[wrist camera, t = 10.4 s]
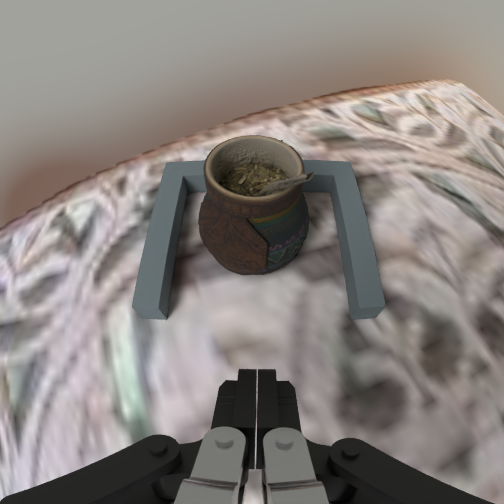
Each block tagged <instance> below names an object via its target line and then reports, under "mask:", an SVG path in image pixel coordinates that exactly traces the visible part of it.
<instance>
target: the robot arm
mask: <svg viewBox="0 0 504 504" xmlns="http://www.w3.org/2000/svg"><path fill="white" fill-rule="evenodd" d="M256 381H257V369H239V372H238V381H233V380H226V381H225V382H224V383H223V384H222V385H221V386H220V387H219V391H218V397H217V401H216V406H215V411H214V416H213V421H212V426H211V430H210V431H208V432H207V433H206V434H205V435H204V438H203V439H202V440H199V441H197V442H193V443H186V444H178V442H177V441H176V440H175V439H173V438H172V437H170V436H166V435H152V436H149V437H146V438H144V439H142V440H141V441H139V442H137V443H135V444H133V445H131V446H129V447H127V448H125V449H123V450H121V451H118V452H116V453H114V454H112V455H110V456H108V457H106V458H104V459H101V460H99V461H97V462H95V463H93V464H90V465H88V466H86V467H84V468H81V469H79V470H77V471H74V472H72V473H69V474H67V475H64V476H62V477H59V478H57V479H54V480H52V481H49V482H46V483H44V484H41V485H38V486H36V487H33V488H30V489H27V490H24V491H21V492H18V493H15V494H12V495H9V496H6V497H5V498H3V499H2V500H1V501H0V504H244V498H245V492H246V484H247V481H248V473H249V469H254V465H255V432H256ZM256 469H262V483H261V488H262V498H263V504H494V503H491V502H489V501H486V500H483V499H481V498H478V497H476V496H473V495H471V494H469V493H466V492H464V491H461V490H459V489H457V488H455V487H452V486H450V485H448V484H446V483H443V482H441V481H439V480H437V479H435V478H433V477H431V476H428V475H426V474H424V473H422V472H420V471H418V470H416V469H414V468H412V467H410V466H408V465H406V464H404V463H402V462H401V461H399V460H397V459H395V458H393V457H391V456H389V455H387V454H386V453H384V452H382V451H380V450H378V449H376V448H375V447H373V446H371V445H369V444H368V443H366V442H364V441H362V440H359V439H355V438H345V439H341V440H338V441H337V442H335V443H334V444H333V445H332V446H326V445H320V444H316V443H313V442H311V441H309V440H308V439H306V438H305V437H304V435H303V434H302V432H301V427H300V420H299V413H298V406H297V399H296V393H295V388H294V387H293V385H292V384H291V383H290V382H289V381H277V379H276V369H258V402H257V454H256Z"/></svg>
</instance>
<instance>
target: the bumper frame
mask: <svg viewBox="0 0 504 504" xmlns="http://www.w3.org/2000/svg"><path fill="white" fill-rule="evenodd" d="M302 161H303V164H304V170H305V173H304V174H308V173H312V172H313V171H314V176H313V178H312V179H310V180H309V181H307V182H304V183H303V184H302V189H301V191H307V192H330V195H331V200H332V205H333V210H334V215H335V220H336V226H337V231H338V237H339V243H340V249H341V255H342V261H343V267H344V274H345V281H346V288H347V295H348V302H349V310H350V318H351V319H368V318H376V317H377V316H378V314H379V313H380V312H381V311H382V310H383V309H384V308H385V301H384V295H383V290H382V285H381V280H380V275H379V270H378V265H377V261H376V256H375V252H374V247H373V243H372V239H371V234H370V230H369V226H368V222H367V218H366V215H365V211H364V207H363V203H362V200H361V196H360V193H359V189H358V186H357V182H356V179H355V175H354V172H353V169H352V166H351V162H343V161H321V160H302ZM204 163H205V161H186V162H169V163H166V165H165V169H164V172H163V176H162V179H161V183H160V186H159V190H158V193H157V197H156V201H155V204H154V208H153V212H152V216H151V220H150V224H149V228H148V232H147V236H146V240H145V245H144V249H143V254H142V258H141V263H140V267H139V272H138V277H137V282H136V287H135V292H134V298H133V303H132V307H133V309H134V310H135V311H136V312H137V313H138V314H139V315H140V316H141V318H146V319H165V320H167V314H168V306H169V299H170V291H171V284H172V278H173V271H174V264H175V258H176V252H177V246H178V240H179V234H180V228H181V223H182V217H183V212H184V206H185V201H186V196H187V193H189V192H207V189H206V185H205V178H204V171H203V167H204Z"/></svg>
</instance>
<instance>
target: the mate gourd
mask: <svg viewBox="0 0 504 504" xmlns="http://www.w3.org/2000/svg"><path fill="white" fill-rule="evenodd" d="M203 171H204V178H205V185H206V189H207V193H206V195H205V196H204V200H203V202H202V203H201V207H200V212H199V221H198V222H199V232H200V236H201V239H202V241H203V243H204V244H205V246H206V247H207V249H208V250H209V252H210V253H211V254H212V255H213V256H214V257H215V259H216V260H217V261H218V262H219V263H220V264H221V265H222V266H223V267H225V268H226V269H227V270H229V271H232V272H234V273H237V274H240V275H253V274H254V275H260V274H262V275H263V274H268V273H271V272H274V271H276V270H278V269H280V268H282V267H283V266H285V265H286V264H287V263H288V262H289V261H291V259H292V258H293V257H294V256H295V255H297V252H298V251H299V250H300V248H301V246H302V245H303V242H304V240H305V239H306V236H307V232H308V226H309V214H308V207H307V203H306V201H305V197H304V195H303V193H302V191H301V189H302V184H303V183H304V182H307V181H309V180H310V179H312V178H313V176H314V171H313V172H312V173H308V174H304V173H305V170H304V164H303V161H302V159H301V157H300V155H299V154H298V153H297V152H296V151H295V150H294V148H293V147H291V146H288V145H287V144H286V143H283V140H281V141H280V140H278V139H275V138H271V137H265V136H257V135H249V136H241V137H236V138H232V139H229V140H227V141H224V142H222V143H221V144H219V145H217V146H216V147H215V148H214V149H213V150H212V151H211V152H210V153H209V155H208V156H207V158H206V160H205V163H204V167H203Z"/></svg>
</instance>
